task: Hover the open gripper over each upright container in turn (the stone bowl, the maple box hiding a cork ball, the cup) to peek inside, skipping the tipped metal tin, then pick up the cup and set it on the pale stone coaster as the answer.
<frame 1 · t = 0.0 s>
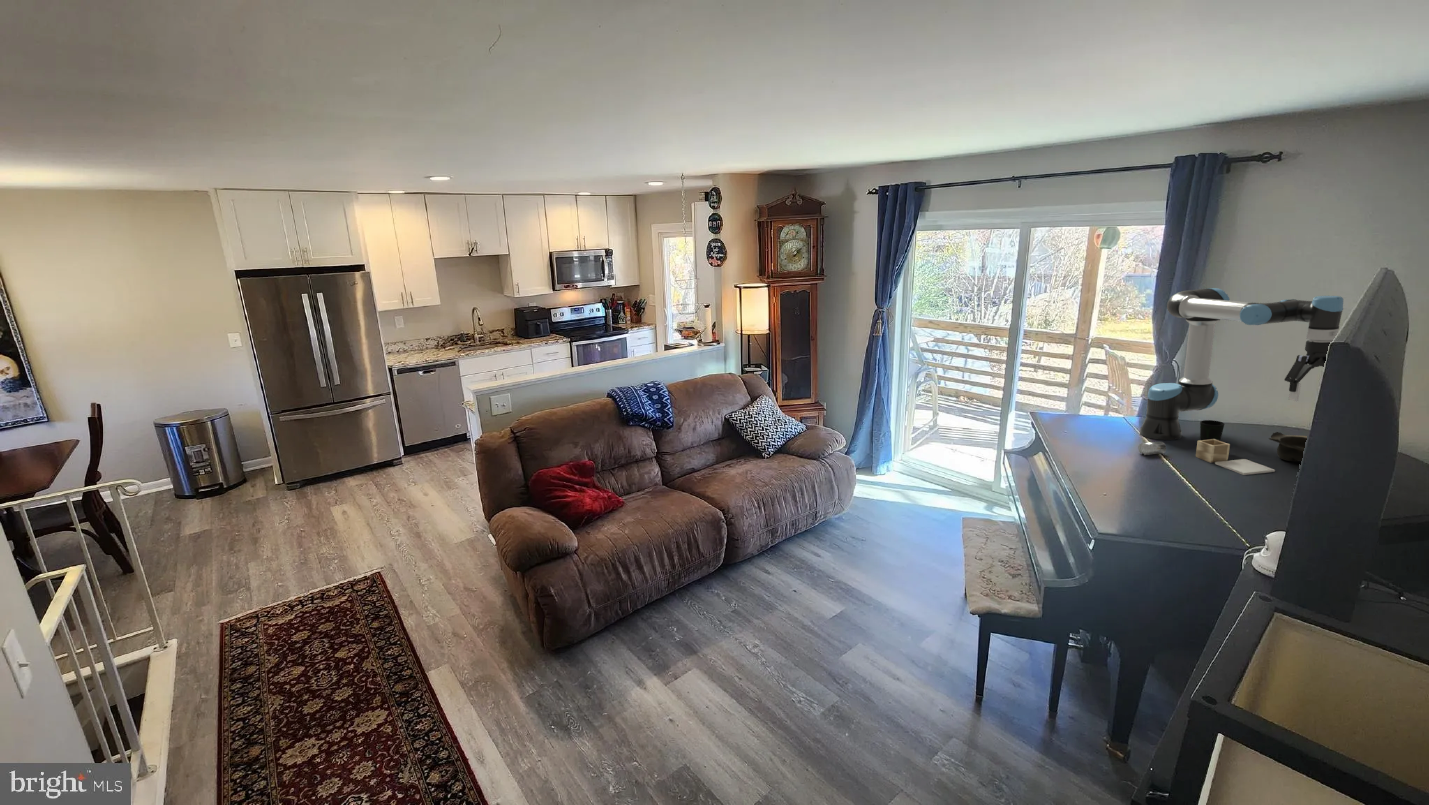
hand: (1311, 398, 209), 28 cm above the table, fingers open, 13 cm apart
stone bowl: (1311, 461, 223), on the table
coaster: (1244, 467, 222), on the table
cork ball: (1211, 457, 233), point 1 cm above the table, touching maple box
tipped tin: (1151, 453, 243), on the table
maple box: (1211, 458, 233), on the table
cup: (1208, 450, 242), on the table
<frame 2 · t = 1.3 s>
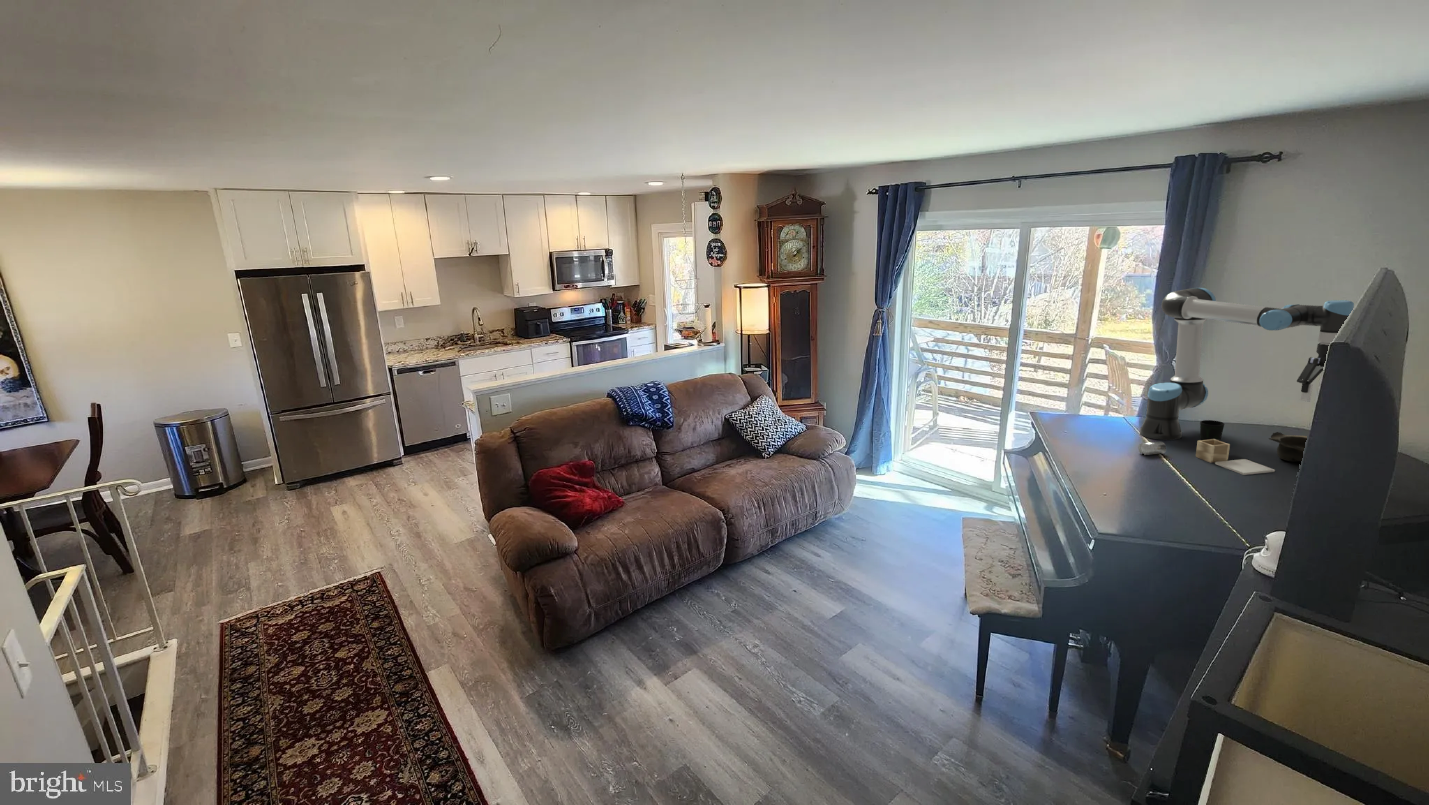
hand: (1322, 399, 217), 25 cm above the table, fingers open, 13 cm apart
nothing on the table moved.
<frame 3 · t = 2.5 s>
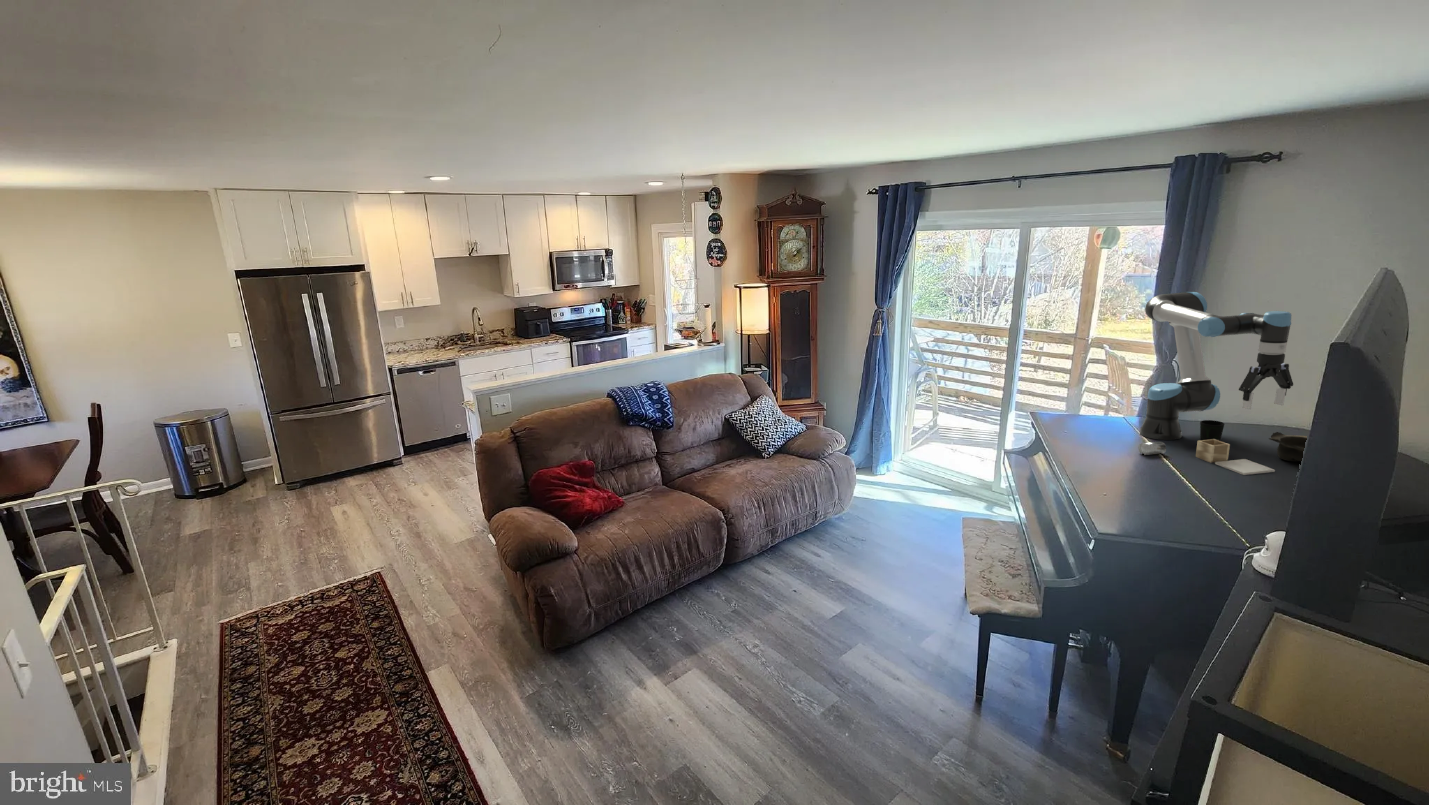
hand: (1262, 406, 224), 22 cm above the table, fingers open, 13 cm apart
nothing on the table moved.
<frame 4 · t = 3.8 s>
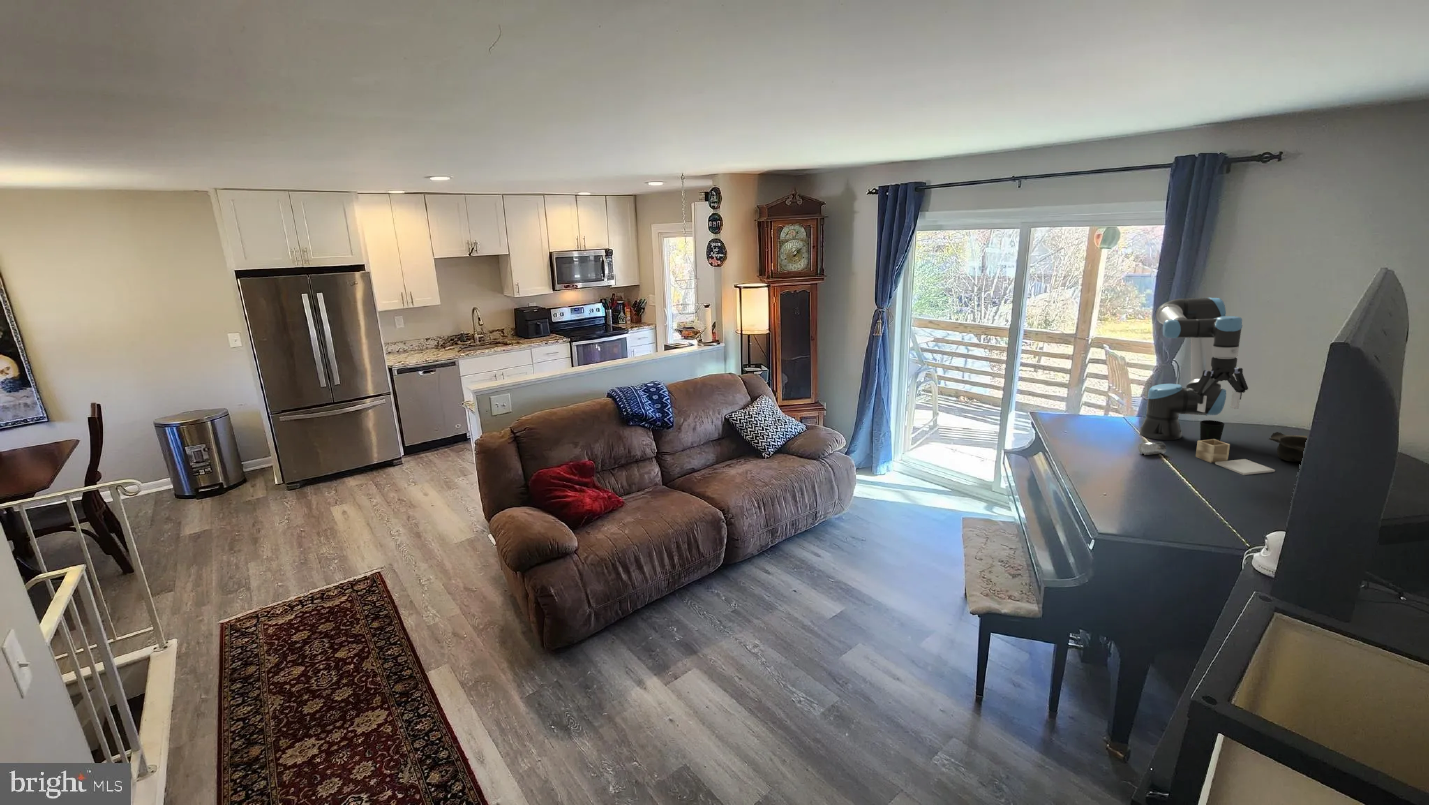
hand: (1217, 409, 228), 21 cm above the table, fingers open, 13 cm apart
nothing on the table moved.
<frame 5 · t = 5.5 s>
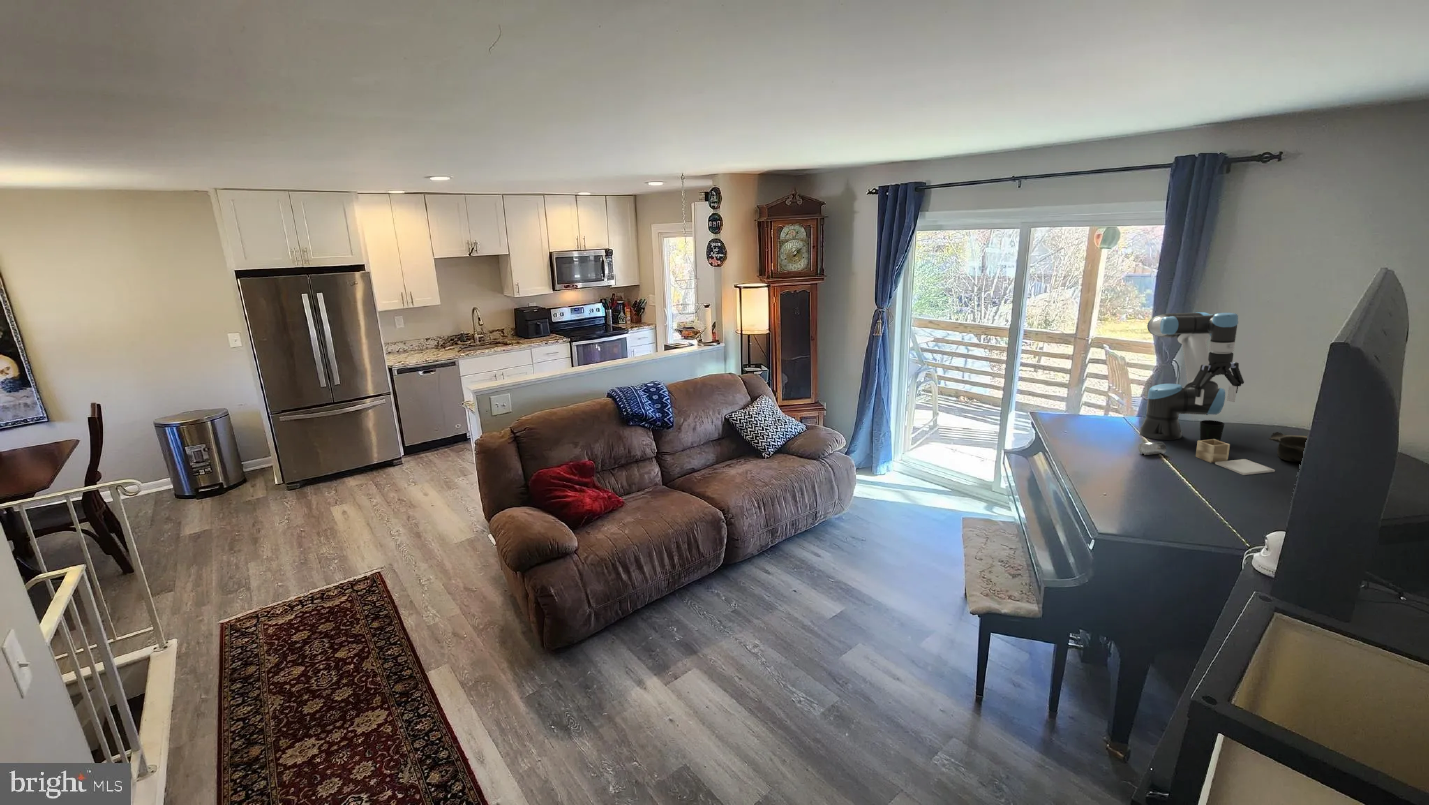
hand: (1214, 402, 237), 21 cm above the table, fingers open, 13 cm apart
nothing on the table moved.
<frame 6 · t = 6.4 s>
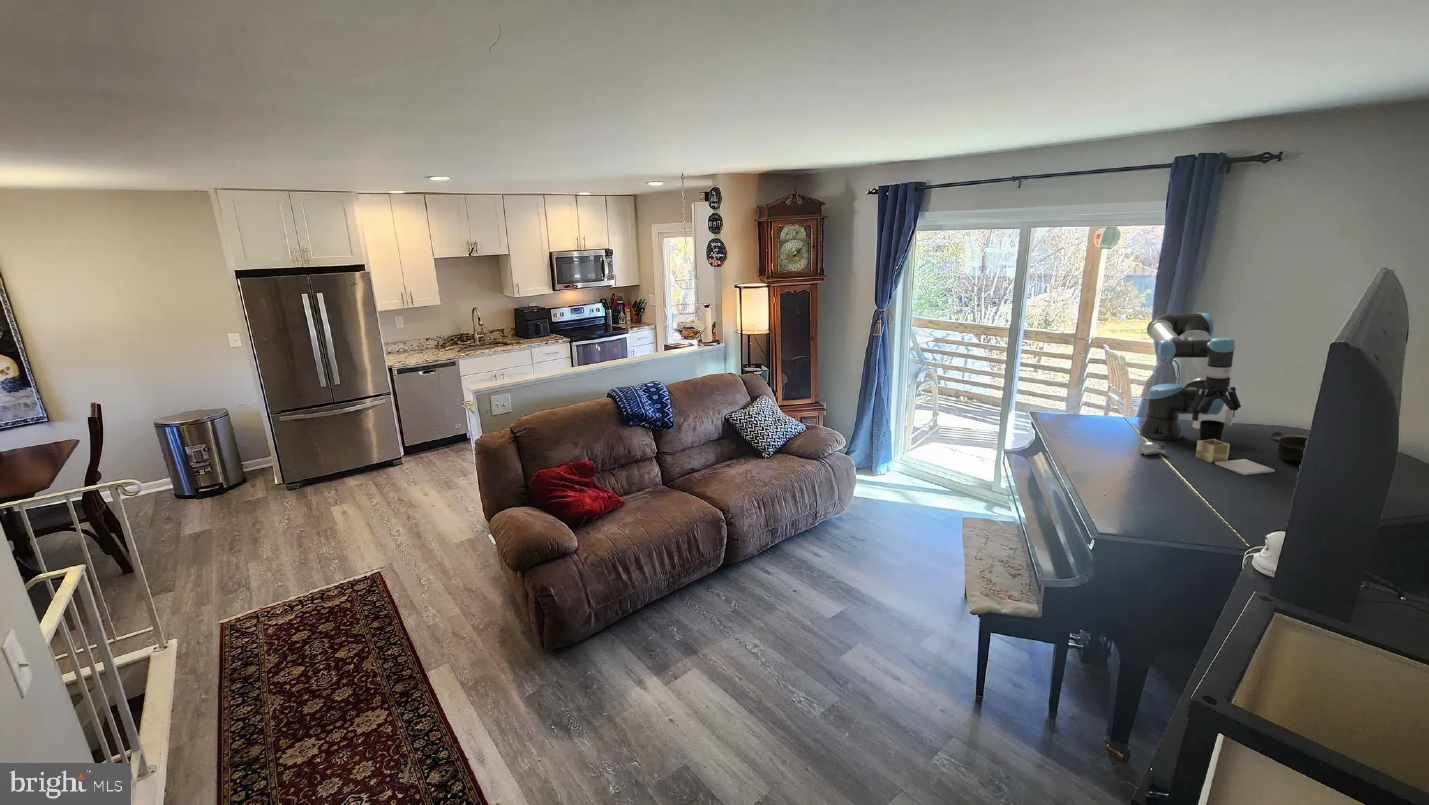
hand: (1212, 426, 239), 10 cm above the table, fingers open, 13 cm apart
nothing on the table moved.
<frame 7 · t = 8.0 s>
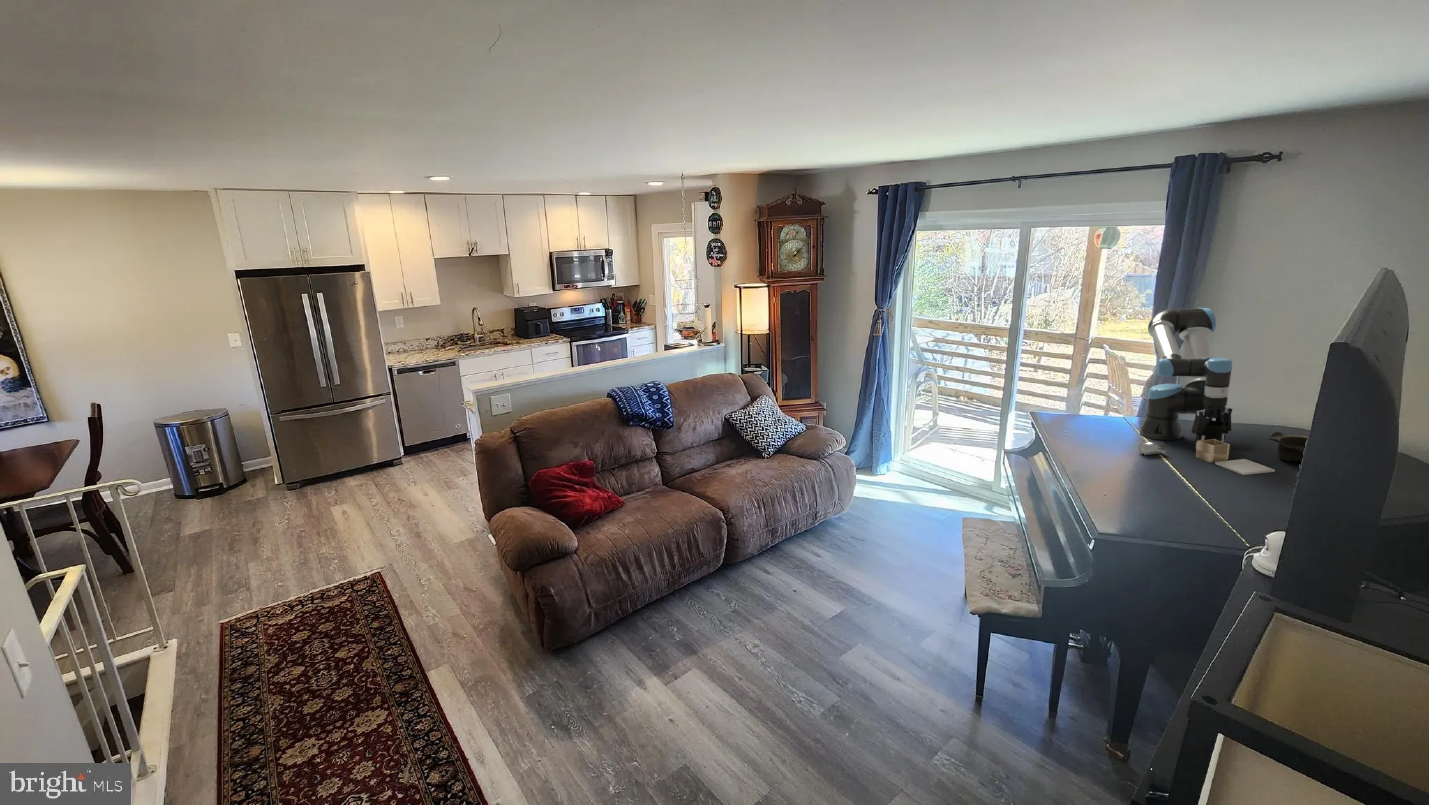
hand: (1209, 448, 242), 1 cm above the table, fingers closed on cup, 8 cm apart
cup: (1208, 450, 242), on the table, touching gripper
everything else where it was.
when the fingers open (3 cm above the table, at t = 13.4 s): cup drops 1 cm, resting on coaster.
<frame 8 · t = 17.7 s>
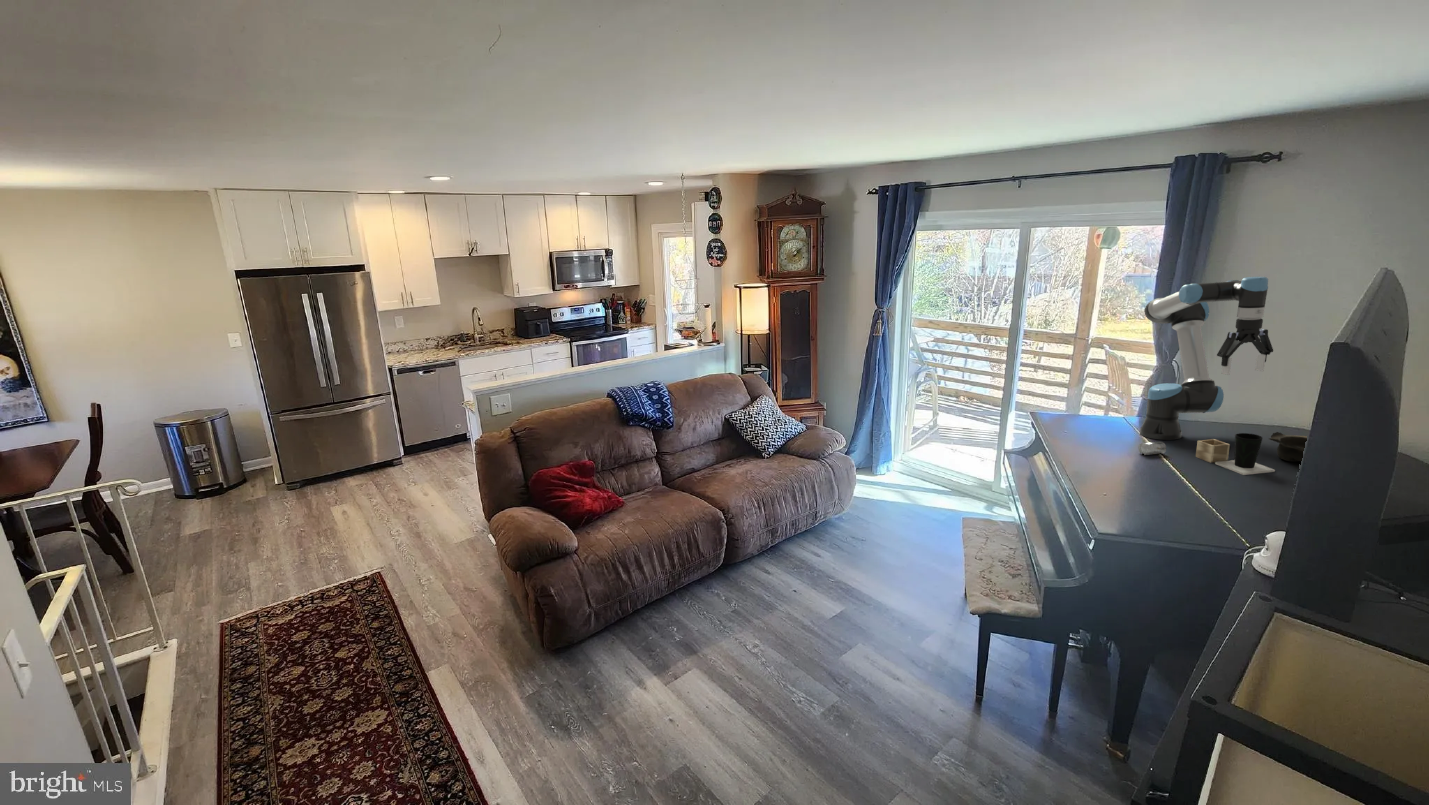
hand: (1242, 372, 226), 35 cm above the table, fingers open, 13 cm apart
cup: (1244, 466, 222), point 1 cm above the table, touching coaster
everything else where it was.
at the end: cup inside the target area on the coaster (0.1 cm from its centre), point 0.6 cm above the coaster's base; cup tilted 0°; the gripper is holding nothing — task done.
